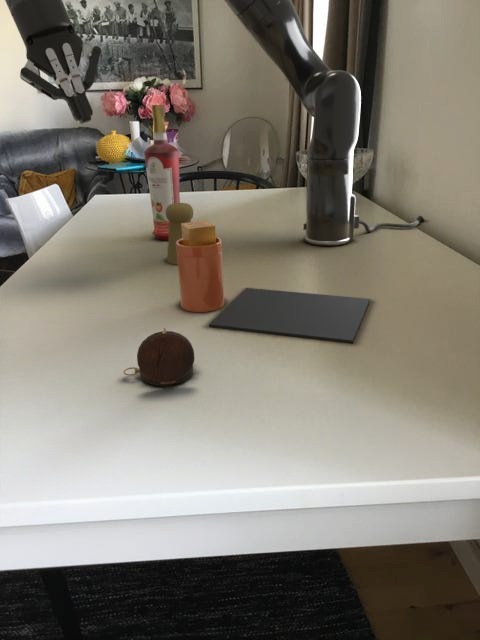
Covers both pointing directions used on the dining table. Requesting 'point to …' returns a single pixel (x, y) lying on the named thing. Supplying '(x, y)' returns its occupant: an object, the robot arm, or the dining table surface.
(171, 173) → the liquor
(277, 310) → the mat
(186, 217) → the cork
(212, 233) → the block
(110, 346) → the dining table surface
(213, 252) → the tumbler
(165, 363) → the dark brown dome
